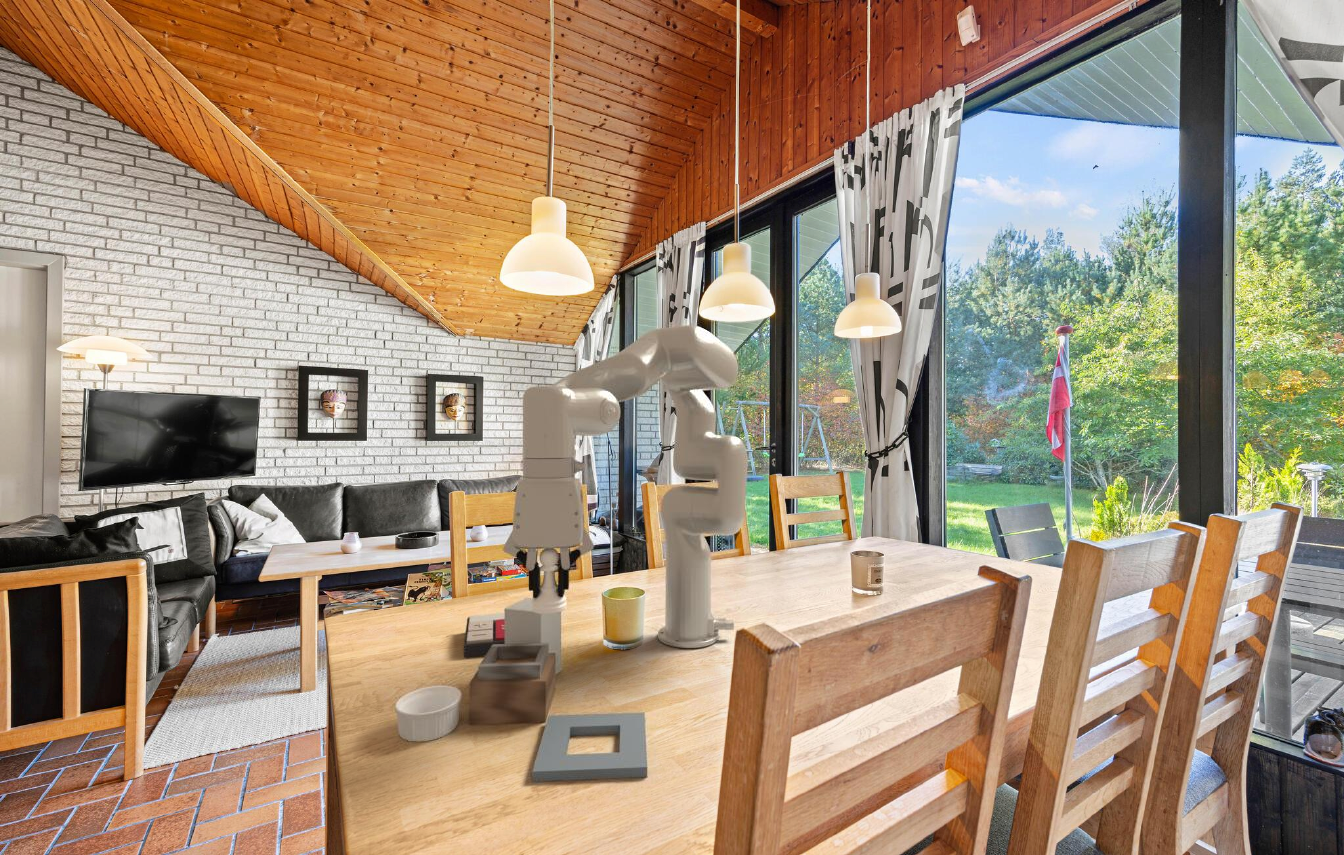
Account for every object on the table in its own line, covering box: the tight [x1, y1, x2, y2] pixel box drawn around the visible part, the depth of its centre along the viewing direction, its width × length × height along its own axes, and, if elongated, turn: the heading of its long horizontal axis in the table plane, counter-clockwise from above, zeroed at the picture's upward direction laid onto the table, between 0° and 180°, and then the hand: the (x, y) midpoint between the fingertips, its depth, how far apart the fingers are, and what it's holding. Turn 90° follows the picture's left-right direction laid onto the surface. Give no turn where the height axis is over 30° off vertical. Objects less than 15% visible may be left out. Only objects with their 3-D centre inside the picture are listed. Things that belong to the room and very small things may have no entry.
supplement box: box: [503, 597, 562, 676], centre depth 100 cm, size 7×7×13 cm
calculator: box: [463, 612, 505, 659], centre depth 117 cm, size 11×4×15 cm
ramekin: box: [394, 685, 463, 742], centre depth 82 cm, size 9×9×4 cm
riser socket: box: [468, 643, 556, 726], centre depth 89 cm, size 11×11×8 cm
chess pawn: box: [532, 548, 567, 614], centre depth 84 cm, size 5×5×9 cm
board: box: [531, 711, 648, 782], centre depth 77 cm, size 14×14×1 cm
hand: (549, 593), depth 84 cm, fingers closed on chess pawn, 3 cm apart
